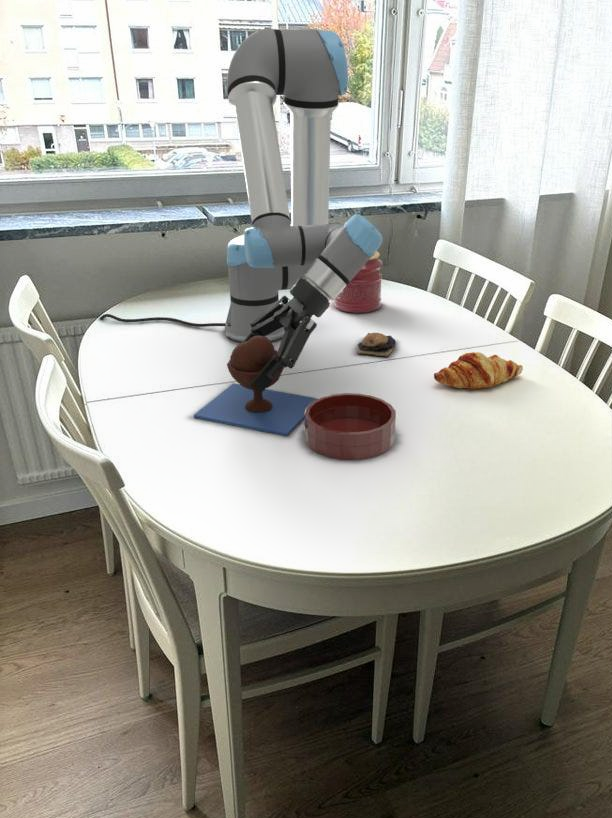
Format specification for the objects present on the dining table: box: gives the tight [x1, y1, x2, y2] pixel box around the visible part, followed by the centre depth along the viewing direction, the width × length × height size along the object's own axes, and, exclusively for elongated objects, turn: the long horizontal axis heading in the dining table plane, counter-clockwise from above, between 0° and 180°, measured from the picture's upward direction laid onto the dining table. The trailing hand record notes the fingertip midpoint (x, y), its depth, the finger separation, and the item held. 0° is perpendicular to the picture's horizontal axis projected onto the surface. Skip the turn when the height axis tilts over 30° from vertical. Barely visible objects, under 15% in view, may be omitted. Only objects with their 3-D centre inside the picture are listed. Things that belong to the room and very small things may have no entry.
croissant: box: [433, 351, 524, 390], centre depth 157 cm, size 21×10×8 cm, turn 110°
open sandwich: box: [357, 332, 397, 357], centre depth 173 cm, size 11×8×4 cm
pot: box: [304, 392, 397, 461], centre depth 134 cm, size 17×17×5 cm
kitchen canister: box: [333, 250, 383, 314], centre depth 195 cm, size 13×13×18 cm
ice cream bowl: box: [226, 336, 285, 413], centre depth 141 cm, size 11×11×15 cm
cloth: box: [193, 383, 318, 437], centre depth 145 cm, size 20×16×1 cm
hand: (244, 375), depth 140 cm, fingers open, 13 cm apart
